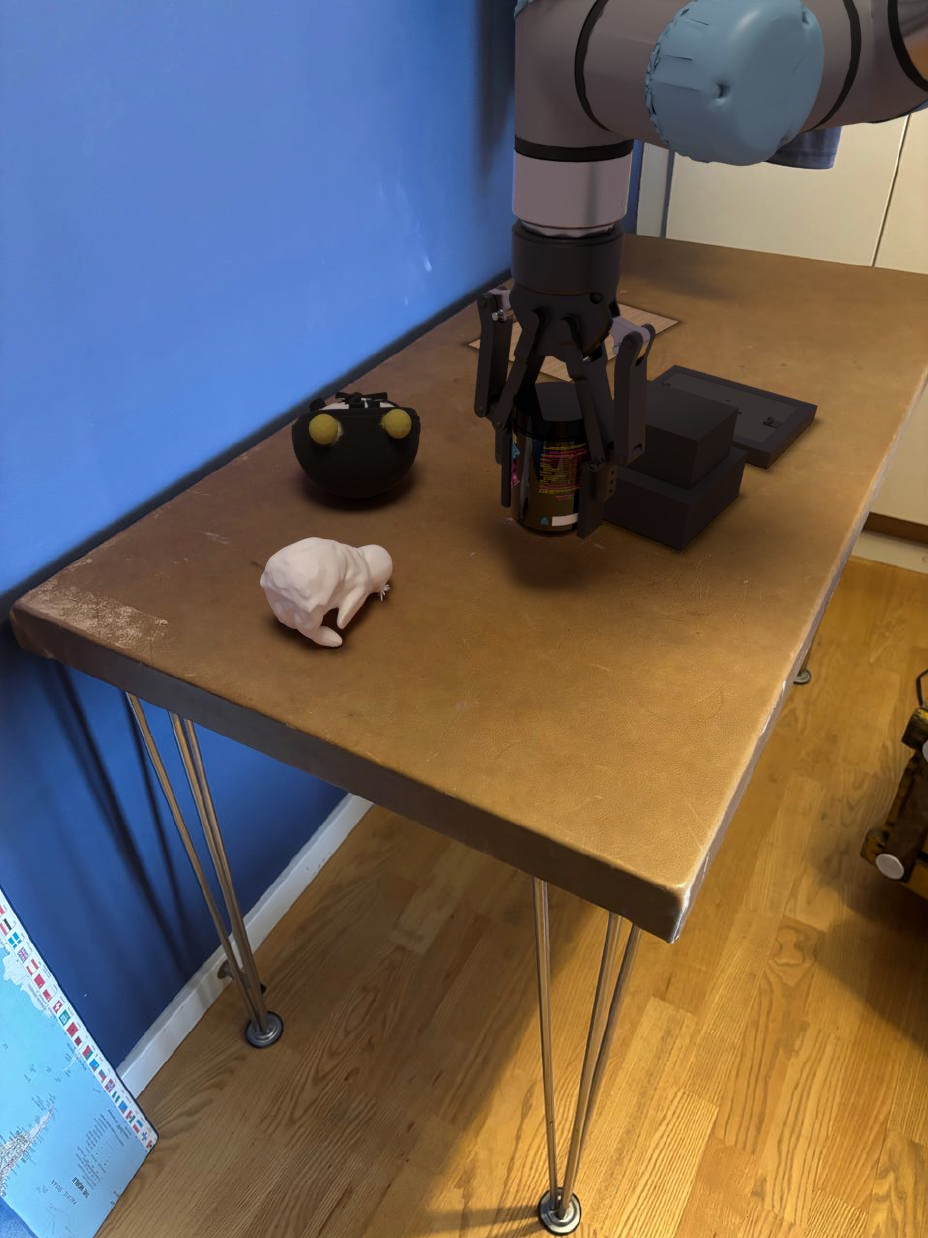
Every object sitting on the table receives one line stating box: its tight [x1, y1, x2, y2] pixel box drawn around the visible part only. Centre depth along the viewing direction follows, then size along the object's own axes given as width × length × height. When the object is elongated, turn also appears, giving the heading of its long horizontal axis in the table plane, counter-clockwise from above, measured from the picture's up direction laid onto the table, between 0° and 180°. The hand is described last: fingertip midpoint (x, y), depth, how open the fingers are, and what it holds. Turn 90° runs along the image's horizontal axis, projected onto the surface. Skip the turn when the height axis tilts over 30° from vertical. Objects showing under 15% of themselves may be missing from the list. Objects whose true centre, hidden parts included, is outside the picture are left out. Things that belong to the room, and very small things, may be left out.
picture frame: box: [652, 364, 819, 469], centre depth 102 cm, size 13×2×18 cm
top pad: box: [612, 379, 739, 490], centre depth 85 cm, size 10×8×5 cm
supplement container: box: [509, 381, 591, 538], centre depth 72 cm, size 7×7×10 cm
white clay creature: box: [259, 536, 394, 648], centre depth 74 cm, size 6×8×12 cm
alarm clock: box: [291, 391, 422, 500], centre depth 89 cm, size 12×15×15 cm
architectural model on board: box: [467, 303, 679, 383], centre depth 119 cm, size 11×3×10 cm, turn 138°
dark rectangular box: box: [603, 446, 748, 551], centre depth 88 cm, size 12×12×5 cm
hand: (550, 514), depth 75 cm, fingers closed on supplement container, 7 cm apart
